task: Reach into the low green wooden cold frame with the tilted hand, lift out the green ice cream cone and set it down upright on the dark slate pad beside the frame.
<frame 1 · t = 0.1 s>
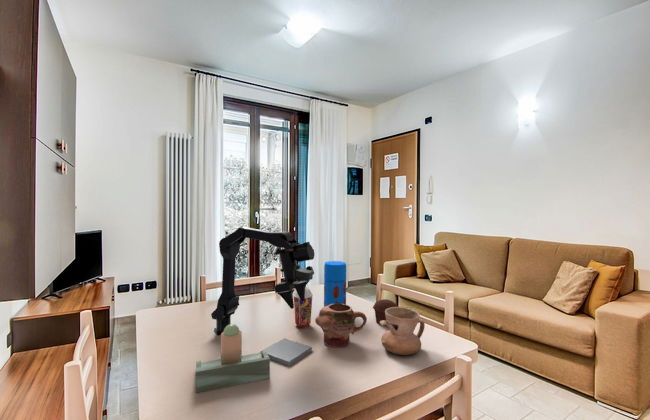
hand: (298, 304, 119), 15 cm above the table, tool pointing down, fingers open, 9 cm apart
green ice cream cone: (231, 364, 101), point 2 cm above the table, touching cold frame
slate pad: (286, 353, 113), on the table
muffin: (385, 322, 143), on the table
decorative planter: (340, 342, 122), on the table
smoothie: (302, 326, 139), on the table
ceramic jug: (402, 350, 117), on the table
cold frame: (232, 373, 99), on the table
thermos: (334, 314, 154), on the table
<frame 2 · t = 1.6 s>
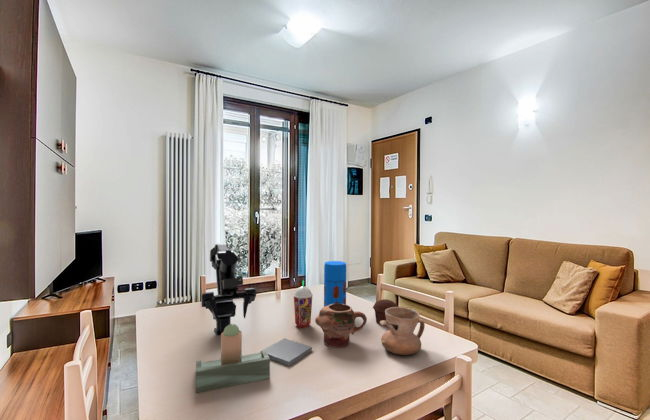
hand: (231, 319, 109), 13 cm above the table, tool tilted 45°, fingers open, 9 cm apart
nothing on the table moved.
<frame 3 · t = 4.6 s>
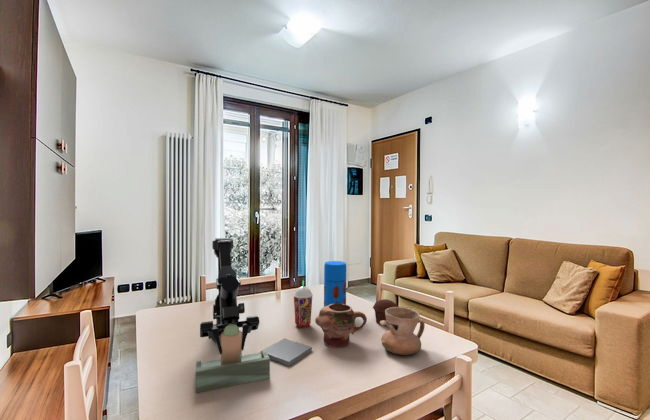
hand: (231, 351, 100), 7 cm above the table, tool tilted 45°, fingers closed on green ice cream cone, 6 cm apart
green ice cream cone: (231, 364, 101), point 2 cm above the table, touching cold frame, gripper
everything else where it was.
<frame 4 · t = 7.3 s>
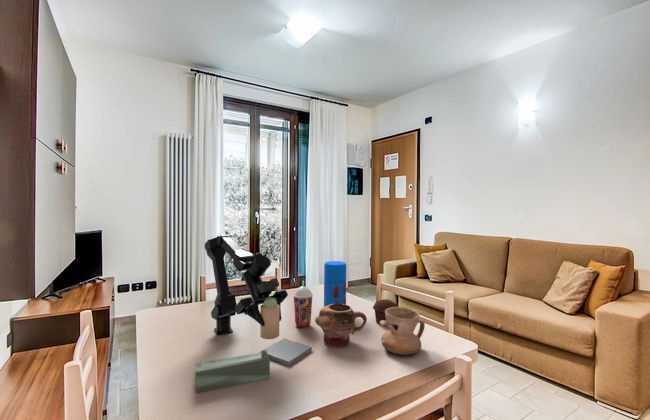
hand: (272, 323, 107), 13 cm above the table, tool tilted 45°, fingers closed on green ice cream cone, 6 cm apart
green ice cream cone: (269, 335, 108), point 9 cm above the table, touching gripper
everything else where it was.
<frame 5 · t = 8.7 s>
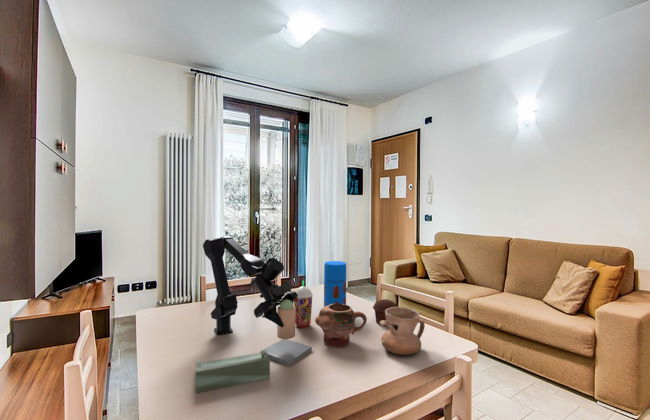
hand: (289, 323, 112), 11 cm above the table, tool tilted 45°, fingers closed on green ice cream cone, 6 cm apart
green ice cream cone: (286, 335, 113), point 6 cm above the table, touching gripper
everything else where it was.
when the fingers open (8 cm above the table, at t = 9.9 s): green ice cream cone drops 1 cm, resting on slate pad.
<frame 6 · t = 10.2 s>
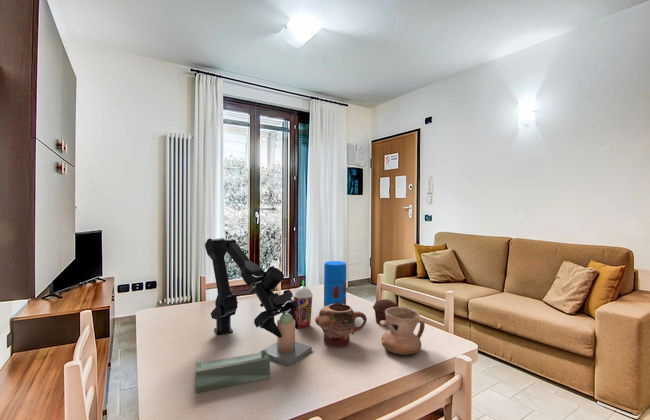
hand: (289, 332, 112), 8 cm above the table, tool tilted 45°, fingers open, 9 cm apart
green ice cream cone: (286, 348, 113), point 2 cm above the table, touching slate pad
everything else where it was.
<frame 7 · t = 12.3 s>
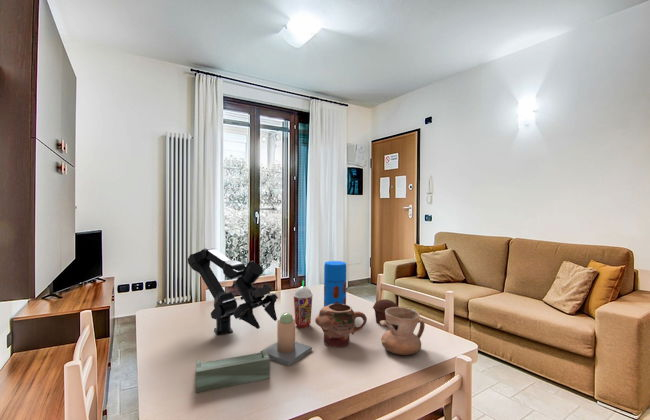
hand: (267, 324, 118), 9 cm above the table, tool tilted 45°, fingers open, 9 cm apart
nothing on the table moved.
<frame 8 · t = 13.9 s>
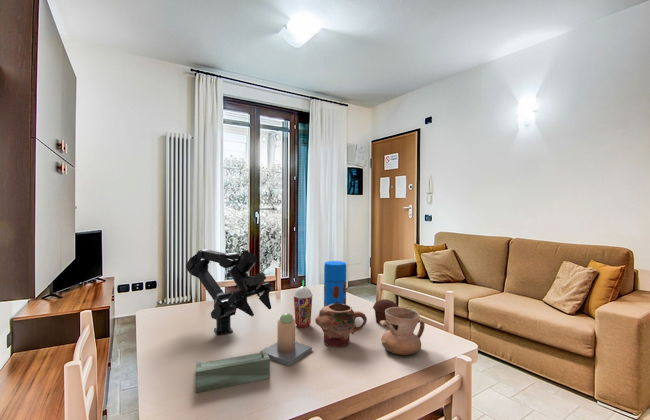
hand: (262, 312, 119), 13 cm above the table, tool tilted 45°, fingers open, 9 cm apart
nothing on the table moved.
at the end: green ice cream cone inside the target area on the slate pad (0.1 cm from its centre), point 1.5 cm above the slate pad's base; green ice cream cone tilted 0°; the gripper is holding nothing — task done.
